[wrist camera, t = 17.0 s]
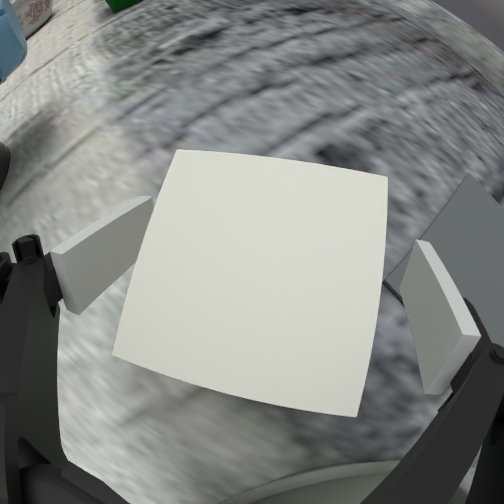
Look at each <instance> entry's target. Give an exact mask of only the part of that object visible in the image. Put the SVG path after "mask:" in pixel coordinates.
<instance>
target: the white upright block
mask: <svg viewBox="0 0 504 504" xmlns="http://www.w3.org/2000/svg"><path fill="white" fill-rule="evenodd" d="M387 188H388V177H384V176H380V175H375V174H370V173H365V172H360V171H355V170H350V169H344V168H339V167H333V166H327V165H321V164H315V163H308V162H302V161H295V160H287V159H280V158H272V157H263V156H254V155H245V154H235V153H223V152H211V151H196V150H178V149H177V151H176V153H175V156H174V158H173V160H172V163H171V165H170V168H169V170H168V173H167V175H166V178H165V180H164V183H163V186H162V188H161V191H160V193H159V196H158V199H157V202H156V204H155V207H154V210H153V213H152V215H151V218H150V221H149V224H148V227H147V230H146V233H145V236H144V239H143V242H142V245H141V248H140V251H139V255H138V258H137V261H136V264H135V268H134V271H133V274H132V278H131V281H130V285H129V288H128V292H127V295H126V299H125V303H124V307H123V311H122V314H121V318H120V323H119V327H118V331H117V335H116V339H115V344H114V348H113V353H112V355H114V356H116V357H118V358H121V359H123V360H126V361H128V362H131V363H134V364H136V365H139V366H141V367H144V368H147V369H150V370H152V371H155V372H158V373H161V374H164V375H167V376H170V377H173V378H176V379H179V380H182V381H185V382H188V383H191V384H195V385H198V386H201V387H205V388H208V389H212V390H215V391H219V392H223V393H226V394H230V395H234V396H238V397H242V398H246V399H251V400H255V401H260V402H264V403H269V404H274V405H279V406H284V407H289V408H295V409H300V410H306V411H312V412H319V413H326V414H333V415H341V416H350V417H357V413H358V409H359V405H360V401H361V397H362V393H363V389H364V384H365V380H366V375H367V371H368V366H369V361H370V356H371V351H372V345H373V340H374V334H375V328H376V321H377V315H378V308H379V300H380V292H381V284H382V275H383V265H384V253H385V240H386V222H387Z"/></svg>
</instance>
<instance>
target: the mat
mask: <svg viewBox="0 0 504 504" xmlns="http://www.w3.org/2000/svg"><path fill="white" fill-rule="evenodd" d="M419 240H422V241H426V242H430V244H431V245H432V247H433V248H434V250H435V252H436V253H437V255H438V256H439V258H440V260H441V261H442V263H443V265H444V266H445V268H446V270H447V271H448V273H449V275H450V277H451V278H452V280H453V282H454V284H455V285H456V287H457V289H458V291H459V293H460V295H461V296H462V297H464V298H466V299H467V300H468V301H469V302H470V303H471V304H472V305H473V306H474V308H475V310H476V311H477V313H478V316H479V317H480V319H481V323H483V325H484V327H485V329H486V331H487V333H488V335H489V337H490V339H491V342H492V343H496V344H498V345H500V346H502V347H503V348H504V210H503V208H502V207H501V206H500V205H499V204H498V203H497V202H496V201H495V199H494V198H493V197H492V196H491V195H490V194H489V193H488V192H487V191H486V190H485V189H484V188H483V187H482V186H481V184H480V183H479V182H478V181H477V180H476V179H475V178H474V177H473V176H472V175H471V174H470V173H468V174H467V175H466V177H465V178H464V180H463V181H462V183H461V184H460V186H459V187H458V188H457V190H456V191H455V193H454V194H453V196H452V197H451V198H450V200H449V201H448V202H447V204H446V205H445V207H444V208H443V209H442V211H441V212H440V213H439V215H438V216H437V217H436V219H435V220H434V221H433V223H432V224H431V225H430V226H429V228H428V229H427V230H426V232H425V233H424V234H423V235H422V237H421V238H420V239H419ZM412 250H413V248H412V249H411V250H410V251H409V252H408V254H407V255H406V256H405V257H404V258H403V260H402V261H401V262H400V263H399V264H398V265H397V267H396V268H395V269H394V270H393V271H392V272H391V273H390V275H389V276H388V277H387V278H386V279H385V280H384V281H383V283H384V284H385V285H386V286H387V287H388V288H389V289H390V290H391V291H392V292H393V293H394V294H395V295H396V296H397V297H398V298H399V299H400V300H401V302H402V303H403V300H402V296H401V293H400V289H399V288H400V285H401V282H402V280H403V277H404V274H405V271H406V268H407V265H408V262H409V259H410V256H411V253H412ZM403 304H404V303H403Z"/></svg>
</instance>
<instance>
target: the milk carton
mask: <svg viewBox="0 0 504 504" xmlns="http://www.w3.org/2000/svg"><path fill="white" fill-rule="evenodd" d="M105 1H106V2H107V4H108V5H109V7H110V8H111V10H112V11H113V13H116V12H118V11H120V10H122V9H124V8H127V7H129V6H131V5H133V4H136V3H138V2H140V1H143V0H105Z"/></svg>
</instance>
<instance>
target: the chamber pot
mask: <svg viewBox="0 0 504 504" xmlns="http://www.w3.org/2000/svg"><path fill="white" fill-rule="evenodd" d="M9 1H10V3H11V4H12V6H13V9H14V11H15V13H16V15H17V18H18V20H19V22H20V25H21V28H22V30H23V33H24V36H25V39H27V38H28V37H29V36H31V35H32V34H33V33H34V32H36V31H37V30H38V29H39V28H40V27H41V26H42V25H43V24H44V23H45V22H46V21H47V20H48V18H49V17H50V16H51V13H52V6H53V0H9Z"/></svg>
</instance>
